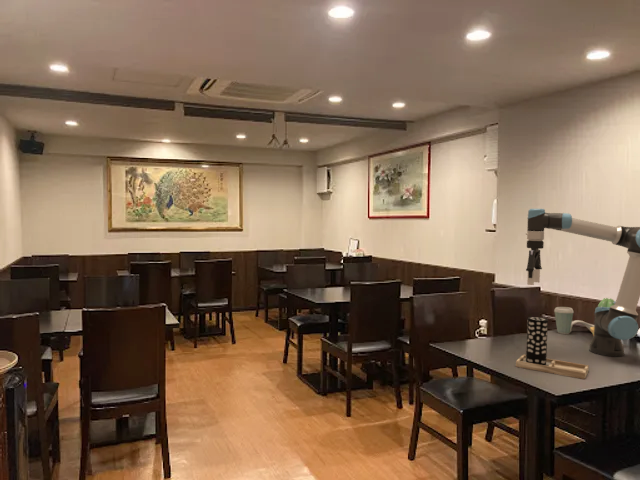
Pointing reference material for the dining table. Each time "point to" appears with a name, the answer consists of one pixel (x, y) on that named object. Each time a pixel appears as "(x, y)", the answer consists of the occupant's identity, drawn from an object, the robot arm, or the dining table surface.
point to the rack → (556, 367)
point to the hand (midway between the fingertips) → (533, 283)
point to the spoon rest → (582, 323)
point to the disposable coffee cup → (563, 319)
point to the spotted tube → (536, 340)
